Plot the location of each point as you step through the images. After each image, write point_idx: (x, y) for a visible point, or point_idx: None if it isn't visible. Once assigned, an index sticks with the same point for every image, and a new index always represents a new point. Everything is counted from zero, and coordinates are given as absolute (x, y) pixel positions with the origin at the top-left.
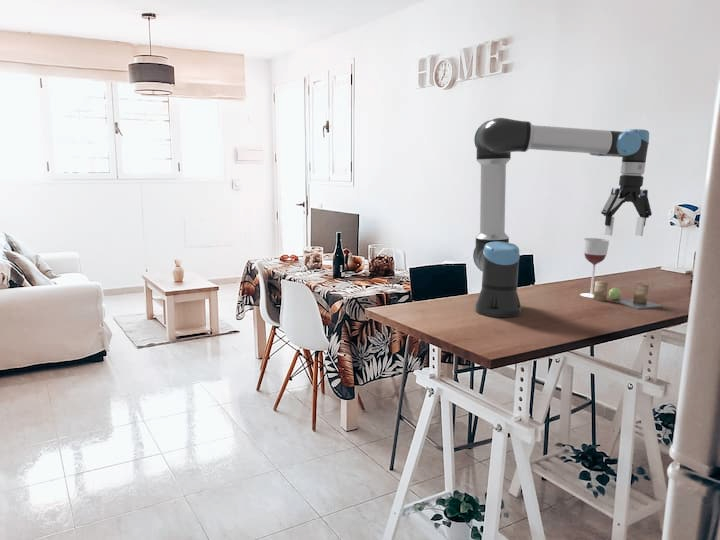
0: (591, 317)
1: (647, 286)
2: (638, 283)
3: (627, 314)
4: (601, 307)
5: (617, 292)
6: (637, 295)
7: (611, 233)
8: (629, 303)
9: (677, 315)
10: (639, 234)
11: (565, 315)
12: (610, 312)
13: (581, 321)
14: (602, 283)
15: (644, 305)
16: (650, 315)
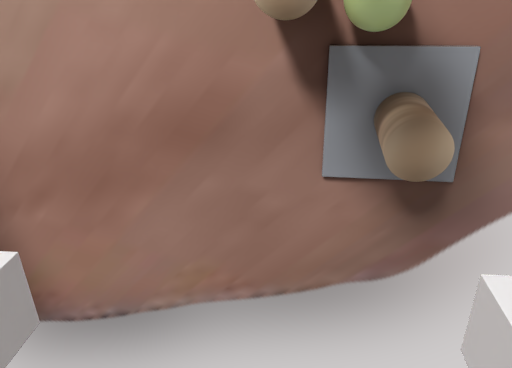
0: (79, 206)
1: (417, 180)
2: (418, 130)
3: (224, 214)
4: (199, 108)
5: (364, 27)
6: (378, 138)
7: (15, 339)
8: (348, 111)
9: (388, 273)
10: (469, 344)
11: (5, 163)
12: (183, 177)
13: (25, 230)
14: (267, 13)
15: (381, 157)
16: (294, 246)
